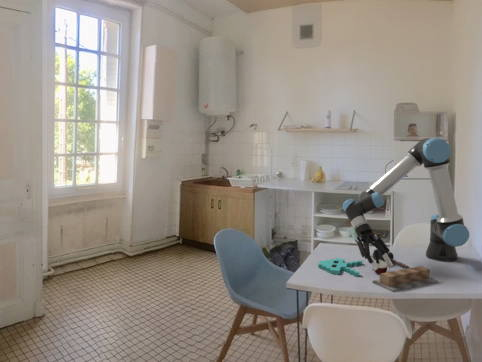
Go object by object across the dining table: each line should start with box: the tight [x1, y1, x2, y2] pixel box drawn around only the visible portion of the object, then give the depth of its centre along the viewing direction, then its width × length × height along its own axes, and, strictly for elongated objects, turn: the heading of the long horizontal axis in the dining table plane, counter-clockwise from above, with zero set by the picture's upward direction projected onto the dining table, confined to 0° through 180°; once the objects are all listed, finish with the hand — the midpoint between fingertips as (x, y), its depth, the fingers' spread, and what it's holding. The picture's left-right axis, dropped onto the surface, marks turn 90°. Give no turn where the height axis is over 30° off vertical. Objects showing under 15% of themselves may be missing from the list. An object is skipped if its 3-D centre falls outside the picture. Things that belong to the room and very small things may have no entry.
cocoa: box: [373, 249, 388, 275], centre depth 189 cm, size 10×6×12 cm, turn 111°
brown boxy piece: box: [372, 266, 439, 293], centre depth 177 cm, size 26×12×5 cm, turn 113°
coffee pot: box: [372, 248, 410, 269], centre depth 202 cm, size 8×18×8 cm
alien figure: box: [317, 257, 363, 278], centre depth 199 cm, size 20×2×20 cm
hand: (383, 267), depth 186 cm, fingers closed on cocoa, 8 cm apart
